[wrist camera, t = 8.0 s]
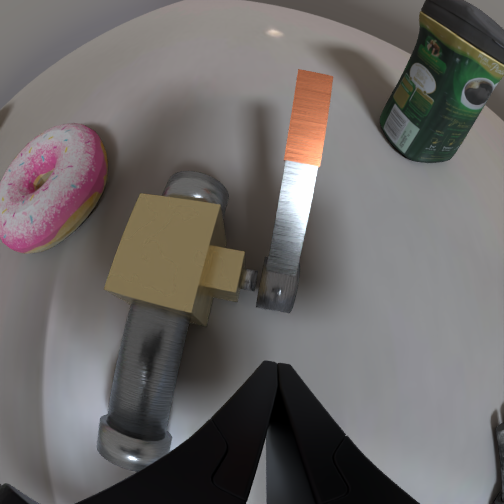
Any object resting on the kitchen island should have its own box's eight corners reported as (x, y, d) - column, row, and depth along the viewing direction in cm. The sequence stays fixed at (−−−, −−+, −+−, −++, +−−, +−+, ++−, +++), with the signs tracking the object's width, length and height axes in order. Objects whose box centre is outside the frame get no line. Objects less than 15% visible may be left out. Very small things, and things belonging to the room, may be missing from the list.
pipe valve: (218, 467, 13) (208, 501, 9) (112, 433, 14) (73, 448, 9) (268, 219, 20) (274, 176, 16) (172, 203, 21) (155, 161, 16)
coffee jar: (423, 119, 27) (476, 8, 10) (456, 165, 24) (532, 52, 7) (366, 115, 26) (414, -27, 9) (401, 168, 23) (485, 10, 6)
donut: (42, 292, 18) (4, 272, 13) (2, 216, 21) (-22, 193, 16) (142, 177, 22) (124, 137, 17) (79, 132, 25) (63, 102, 20)
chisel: (288, 322, 15) (336, 73, 11) (253, 316, 15) (296, 65, 11) (288, 298, 18) (327, 89, 14) (258, 293, 18) (294, 83, 14)
